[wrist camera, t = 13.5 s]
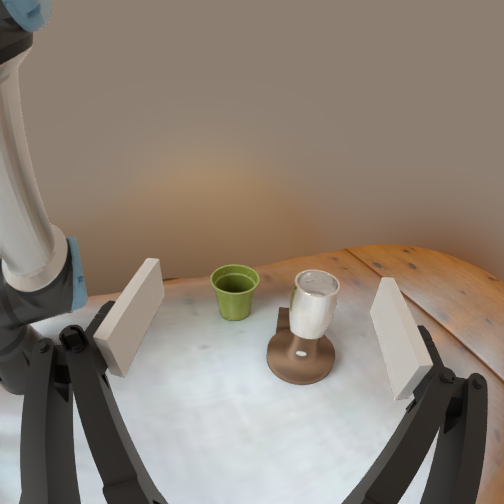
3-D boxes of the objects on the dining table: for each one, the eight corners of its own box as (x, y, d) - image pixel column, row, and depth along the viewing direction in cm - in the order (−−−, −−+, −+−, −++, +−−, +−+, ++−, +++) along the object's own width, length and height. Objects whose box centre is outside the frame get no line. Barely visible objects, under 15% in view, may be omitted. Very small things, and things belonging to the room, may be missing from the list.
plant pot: (266, 310, 59) (269, 276, 54) (237, 334, 52) (237, 300, 48) (233, 292, 63) (233, 259, 59) (203, 312, 57) (200, 278, 53)
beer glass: (279, 363, 44) (291, 294, 36) (284, 334, 50) (294, 265, 42) (320, 368, 43) (343, 300, 35) (321, 339, 49) (339, 271, 41)
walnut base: (335, 385, 42) (345, 364, 39) (264, 382, 43) (267, 361, 40) (328, 333, 53) (335, 310, 50) (268, 329, 54) (271, 306, 51)
